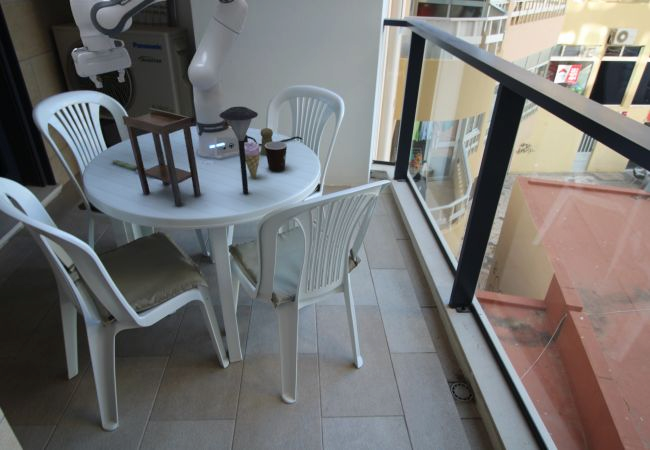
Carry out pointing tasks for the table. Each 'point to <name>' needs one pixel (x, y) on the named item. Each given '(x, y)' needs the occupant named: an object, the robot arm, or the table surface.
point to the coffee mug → (276, 155)
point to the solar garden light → (240, 133)
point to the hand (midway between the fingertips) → (111, 84)
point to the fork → (127, 166)
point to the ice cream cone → (252, 157)
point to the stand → (167, 173)
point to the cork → (265, 139)
